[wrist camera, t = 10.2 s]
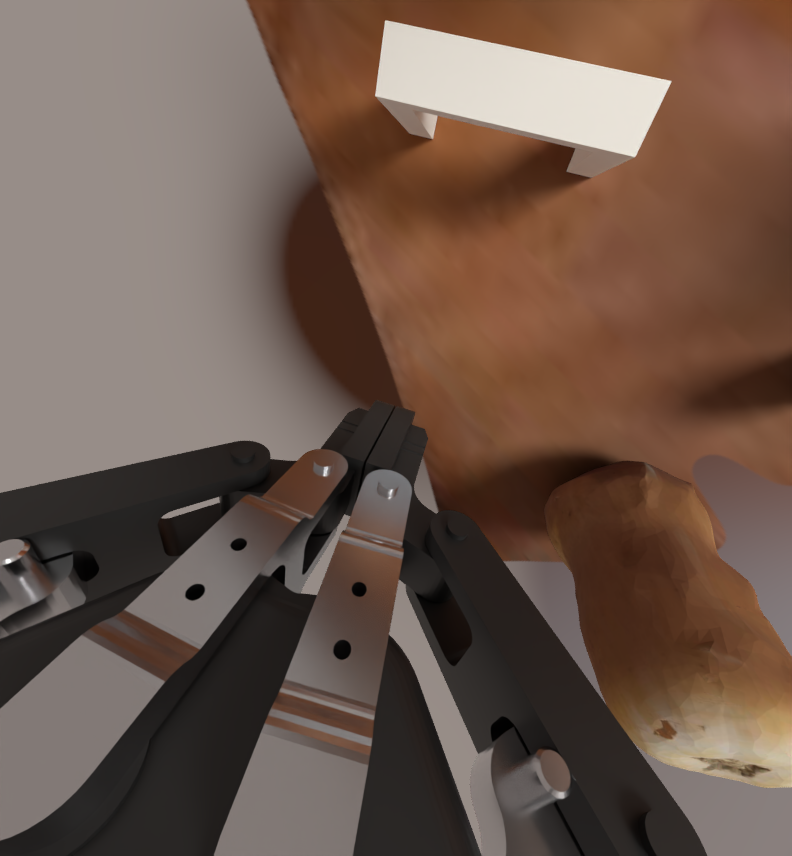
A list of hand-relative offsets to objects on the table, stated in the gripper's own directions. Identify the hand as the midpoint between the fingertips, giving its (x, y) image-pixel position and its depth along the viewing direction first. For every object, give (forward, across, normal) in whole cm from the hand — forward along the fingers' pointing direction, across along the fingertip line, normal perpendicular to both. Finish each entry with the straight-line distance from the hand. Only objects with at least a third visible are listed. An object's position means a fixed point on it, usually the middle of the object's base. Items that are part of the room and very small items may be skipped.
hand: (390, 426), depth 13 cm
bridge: (+25, 0, -13) cm, 28 cm away
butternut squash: (+25, -23, +15) cm, 37 cm away
